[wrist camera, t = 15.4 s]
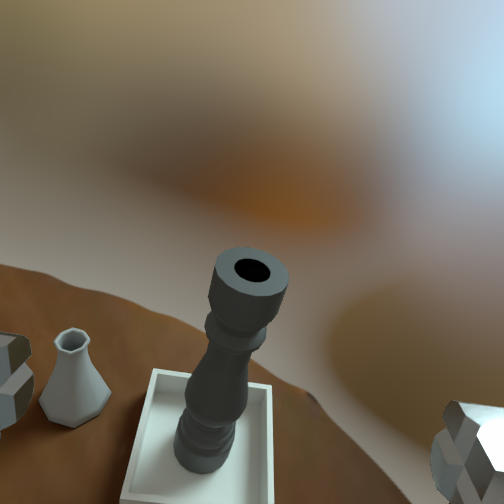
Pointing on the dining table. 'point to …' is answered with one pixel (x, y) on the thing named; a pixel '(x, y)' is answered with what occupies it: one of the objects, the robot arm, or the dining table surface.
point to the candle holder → (228, 354)
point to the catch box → (188, 483)
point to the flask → (73, 383)
